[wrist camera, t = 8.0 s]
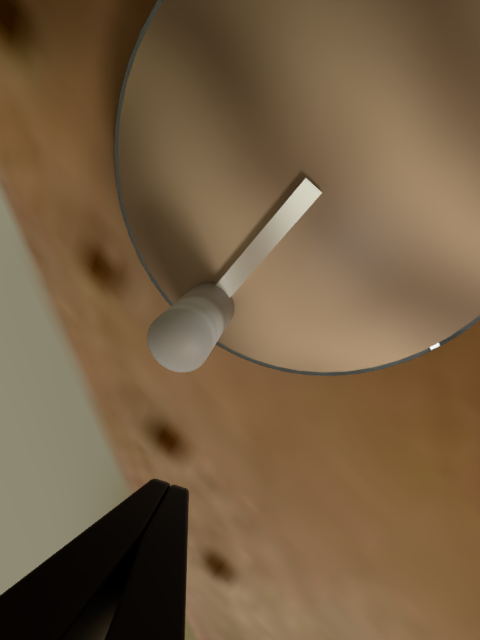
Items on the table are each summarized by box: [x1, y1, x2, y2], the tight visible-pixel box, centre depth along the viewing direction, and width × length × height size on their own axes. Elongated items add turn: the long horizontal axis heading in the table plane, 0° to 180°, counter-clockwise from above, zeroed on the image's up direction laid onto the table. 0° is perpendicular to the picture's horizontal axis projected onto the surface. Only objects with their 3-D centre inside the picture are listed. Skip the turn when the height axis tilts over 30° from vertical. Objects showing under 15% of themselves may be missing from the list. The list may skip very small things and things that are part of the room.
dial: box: [118, 0, 480, 372], centre depth 12 cm, size 16×16×5 cm
